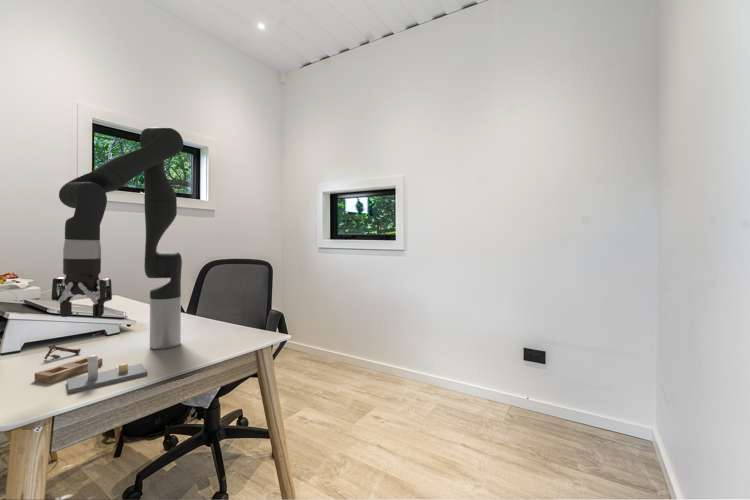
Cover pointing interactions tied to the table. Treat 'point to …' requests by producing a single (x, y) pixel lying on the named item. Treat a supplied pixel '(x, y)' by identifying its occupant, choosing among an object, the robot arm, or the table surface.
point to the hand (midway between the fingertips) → (81, 316)
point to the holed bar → (64, 370)
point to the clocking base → (104, 375)
